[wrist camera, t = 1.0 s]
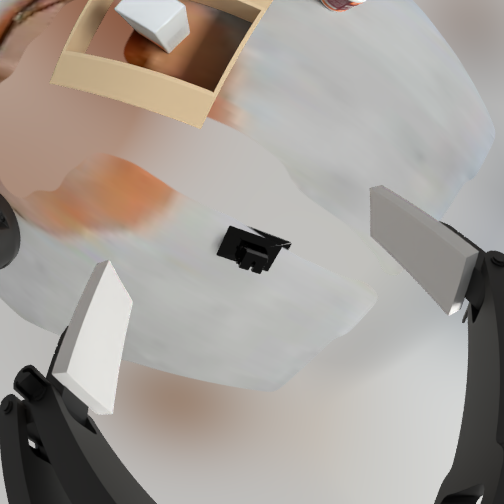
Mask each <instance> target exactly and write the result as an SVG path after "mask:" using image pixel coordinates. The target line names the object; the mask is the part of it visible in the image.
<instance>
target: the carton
mask: <svg viewBox="0 0 504 504" xmlns="http://www.w3.org/2000/svg"><path fill="white" fill-rule="evenodd" d="M113 1H114V0H89V1H88V2H87V4H86V6H85V7H84V9H83V11H82V13H81V15H80V16H79V18H78V20H77V22H76V24H75V26H74V27H73V29H72V32H71V33H70V36H69V38H68V40H67V42H66V44H65V46H64V48H63V50H62V53H61V55H60V57H59V60H58V62H57V65H56V67H55V70H54V73H53V75H52V78H51V80H50V84H54V85H59V86H63V87H68V88H72V89H76V90H81V91H85V92H89V93H93V94H96V95H100V96H104V97H107V98H111V99H114V100H118V101H121V102H125V103H128V104H131V105H134V106H138V107H140V108H144V109H147V110H150V111H153V112H155V113H158V114H161V115H164V116H167V117H170V118H173V119H175V120H178V121H181V122H184V123H186V124H189V125H191V126H194V127H197V128H199V129H201V127H202V125H203V123H204V121H205V119H206V117H207V115H208V113H209V111H210V109H211V107H212V105H213V103H214V101H215V99H216V97H217V95H218V93H219V91H220V89H221V87H222V85H223V83H224V81H225V79H226V77H227V76H228V74H229V72H230V70H231V68H232V66H233V65H234V63H235V61H236V59H237V58H238V56H239V54H240V52H241V51H242V49H243V47H244V45H245V44H246V42H247V40H248V39H249V37H250V35H251V34H252V32H253V30H254V29H255V27H256V26H257V24H258V23H259V21H260V19H261V18H262V16H263V15H264V13H265V12H266V10H267V9H268V7H269V6H270V4H271V3H272V1H273V0H191V1H194V2H197V3H200V4H204V5H207V6H210V7H212V8H215V9H218V10H221V11H224V12H226V13H229V14H232V15H234V16H237V17H239V18H241V19H244V20H246V21H249V22H251V23H252V25H251V26H250V28H249V30H248V31H247V33H246V35H245V36H244V38H243V40H242V41H241V43H240V45H239V46H238V48H237V50H236V51H235V53H234V55H233V57H232V58H231V60H230V62H229V64H228V66H227V67H226V69H225V71H224V73H223V75H222V77H221V79H220V80H219V82H218V84H217V86H216V88H215V90H214V92H212V91H209V90H207V89H204V88H201V87H199V86H196V85H194V84H191V83H188V82H185V81H183V80H180V79H177V78H174V77H171V76H168V75H165V74H162V73H159V72H156V71H152V70H149V69H146V68H142V67H139V66H135V65H132V64H128V63H124V62H120V61H116V60H112V59H107V58H103V57H98V56H93V55H89V54H85V53H86V51H87V48H88V46H89V44H90V42H91V40H92V38H93V36H94V34H95V32H96V30H97V29H98V27H99V25H100V23H101V21H102V19H103V18H104V16H105V14H106V12H107V11H108V9H109V7H110V6H111V4H112V2H113Z"/></svg>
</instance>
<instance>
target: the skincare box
mask: <svg viewBox="0 0 504 504" xmlns="http://www.w3.org/2000/svg"><path fill="white" fill-rule="evenodd" d="M114 9H115V11H117V13H119V14H120V15H121V16H122V17H123V18H124V19H125V20H126V21H127V22H128V23H129V24H130V25H131V26H132V27H133V28H134V29H135V30H136V31H137V32H138V33H139V34H141V35H142V36H144V37H145V38H147V39H149V40H150V41H152V42H153V43H155V44H156V45H158V46H159V47H160V48H162V49H163V50H164V51H166V52H167V53H170V52H171V51H172V50H173V49H174V48H175V47H176V46H177V45H178V44H179V43H180V42H181V41H182V40H183V39H184V38H185V37H186V36H188V35H189V34H190V30H189V24H188V19H187V13H186V7H185V5H184V4H183V3H181V2H179V1H178V0H122V1H121V2H120V3H119V4H118V5H117V6H116V7H115V8H114Z"/></svg>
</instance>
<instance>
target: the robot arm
mask: <svg viewBox="0 0 504 504" xmlns="http://www.w3.org/2000/svg"><path fill="white" fill-rule="evenodd" d="M370 236H371V237H372V238H373V239H374V240H376V241H377V242H378V243H379V244H380V245H381V246H382V247H383V248H384V249H385V250H386V251H387V252H388V253H389V254H390V255H391V256H392V257H393V258H394V259H395V260H396V261H397V262H398V263H399V264H400V265H401V266H402V267H403V268H404V269H405V270H406V271H407V272H408V273H409V274H410V275H411V276H412V277H413V278H414V279H415V280H416V281H417V282H418V283H419V284H420V285H421V286H422V287H423V289H424V290H425V291H426V292H427V293H428V294H429V295H430V296H431V297H432V298H433V299H434V301H436V303H437V304H438V305H439V306H440V307H441V308H442V310H443V311H444V312H445V313H446V314H447V315H448V316H449V315H451V314H453V313H455V312H456V311H458V310H460V309H461V307H462V304H463V301H464V298H466V299H467V300H468V301H469V305H468V308H467V310H466V312H465V315H464V317H463V320H462V323H464V322H465V320H466V318H467V317H468V372H467V385H466V396H465V404H464V412H463V418H462V425H461V430H460V436H459V440H458V445H457V449H456V454H455V458H454V462H453V465H452V468H451V470H450V472H449V473H448V475H447V476H446V477H445V479H444V481H443V483H442V484H441V487H440V489H439V492H438V495H437V497H436V500H435V503H434V504H476V502H477V500H478V499H479V498H480V496H482V495H483V498H482V501H481V504H504V254H503V253H501V252H498V251H489V252H487V253H485V252H484V251H483V250H482V249H481V248H479V247H478V246H477V245H475V244H474V243H473V242H472V241H470V240H469V239H468V238H466V237H464V235H462V234H461V233H459V232H457V230H455V229H454V228H453V227H451V226H450V225H448V224H445V223H443V222H440V221H437V220H436V219H434V218H433V217H432V216H430V215H429V214H427V213H426V212H424V211H423V210H421V209H420V208H418V207H417V206H415V205H413V204H412V203H410V202H409V201H407V200H406V199H404V198H402V197H401V196H399V195H397V194H396V193H394V192H393V191H391V190H389V189H387V188H386V187H384V186H382V185H381V186H377V187H372V188H370ZM19 247H20V231H19V226H18V222H17V219H16V216H15V214H14V212H13V210H12V208H11V207H10V205H9V203H8V202H7V201H6V200H5V198H4V197H3V196H1V195H0V269H2V268H5V267H6V266H8V265H9V264H10V263H11V262H12V261H13V259H14V258H15V257H16V255H17V254H18V251H19ZM132 304H133V301H132V300H131V298H130V296H129V294H128V293H127V291H126V289H125V288H124V286H123V284H122V282H121V280H120V279H119V277H118V275H117V273H116V271H115V269H114V268H113V266H112V264H111V262H110V260H107V261H104V262H101V263H98V264H97V265H96V267H95V269H94V271H93V273H92V275H91V277H90V279H89V281H88V283H87V285H86V287H85V289H84V292H83V294H82V296H81V298H80V300H79V303H78V305H77V307H76V310H75V312H74V314H73V317H72V319H71V321H70V324H69V326H67V328H66V329H65V331H64V332H63V333H62V335H61V337H60V339H59V342H58V346H57V347H56V350H55V354H54V356H53V358H52V361H51V364H50V367H49V370H48V373H47V376H46V378H45V377H44V376H43V375H42V374H41V373H40V372H39V371H38V370H37V369H36V368H35V367H34V366H32V365H28V366H25V367H24V368H22V369H21V370H20V371H19V373H18V374H17V376H16V378H15V380H14V390H15V391H16V392H18V393H19V394H20V395H21V396H22V397H23V398H24V399H25V400H22V401H21V400H20V399H18V398H17V397H16V396H15V395H13V394H10V395H7V396H6V397H5V398H4V399H3V400H2V402H1V405H0V449H1V461H2V468H3V476H4V481H5V488H6V492H7V498H8V502H9V504H157V503H156V502H155V501H154V500H153V499H152V498H151V497H150V496H149V495H148V494H147V493H146V491H145V490H144V489H143V488H142V487H141V486H140V484H139V483H138V482H137V481H136V480H135V479H134V477H133V476H132V475H131V474H130V472H129V471H128V470H127V469H126V467H125V466H124V465H123V464H122V462H121V461H120V459H119V458H118V457H117V455H116V454H115V452H114V451H113V450H112V448H111V447H110V445H109V444H108V442H107V441H106V439H105V438H104V436H103V435H102V433H101V432H100V430H99V429H98V427H97V426H96V424H95V422H94V421H93V419H92V418H91V417H90V416H89V415H88V414H87V413H88V407H89V408H90V409H91V410H93V411H94V412H95V413H97V414H98V415H101V414H113V408H114V401H115V393H116V386H117V380H118V374H119V368H120V362H121V356H122V351H123V346H124V341H125V336H126V331H127V326H128V322H129V317H130V313H131V309H132ZM28 439H29V440H31V441H33V442H34V443H35V448H33V447H31V446H30V445H29V442H28Z"/></svg>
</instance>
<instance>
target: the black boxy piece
mask: <svg viewBox="0 0 504 504" xmlns="http://www.w3.org/2000/svg"><path fill="white" fill-rule="evenodd" d="M246 226H247V225H246ZM248 227H249V226H248ZM249 228H250V229H252V230H253V231H255V232H256V233H258V234H259V235H261V236H262V237H261V236H258V235H255V234H252V233H249V232H247V231H244V230H241V229H238V228H235V227H232V226H229V228H228V230H227V232H226V235H225V237H224V239H223V241H222V243H221V246H220V248H219V250H218V252H217V255H218V256H221V257H224V258H227V259H230V260H233V261H236V264H238V265H239V268H242V269H245V270H249V268H250V267H252V269H251V271H252V272H255V273H258V274H261V272H262V270H264V271H268V270H269V268H270V267H271V265H272V263H273V262H274V260H275V258H276V256H277V255H278V253H279V251H280V250H281V248H284V249H286V250H289V248H290V246H291V244H292V243H291V242H289V241H287V240H284V239H282V238H279V237H276V236H273V235H271V234H268V233H266V232H262V231H260V230H257V229H255V228H252V227H249ZM263 237H264V238H263Z"/></svg>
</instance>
